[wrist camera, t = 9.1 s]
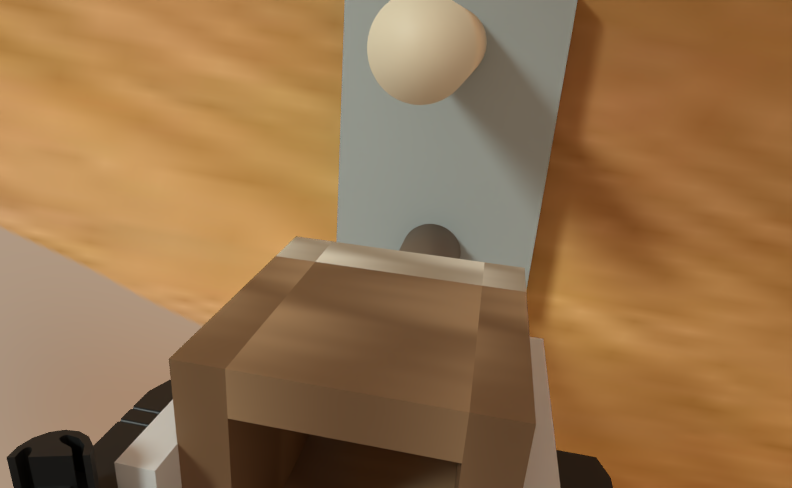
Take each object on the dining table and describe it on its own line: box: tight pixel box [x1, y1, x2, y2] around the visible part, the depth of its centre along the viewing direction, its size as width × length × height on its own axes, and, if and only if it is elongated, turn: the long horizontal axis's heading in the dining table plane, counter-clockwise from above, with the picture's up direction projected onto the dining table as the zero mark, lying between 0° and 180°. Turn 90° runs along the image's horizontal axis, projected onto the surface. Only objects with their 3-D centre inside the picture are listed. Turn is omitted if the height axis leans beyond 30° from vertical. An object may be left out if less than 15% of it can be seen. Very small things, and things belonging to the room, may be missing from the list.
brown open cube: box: [169, 237, 536, 488], centre depth 13 cm, size 6×6×6 cm
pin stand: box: [337, 0, 578, 289], centre depth 18 cm, size 8×12×9 cm, turn 176°
